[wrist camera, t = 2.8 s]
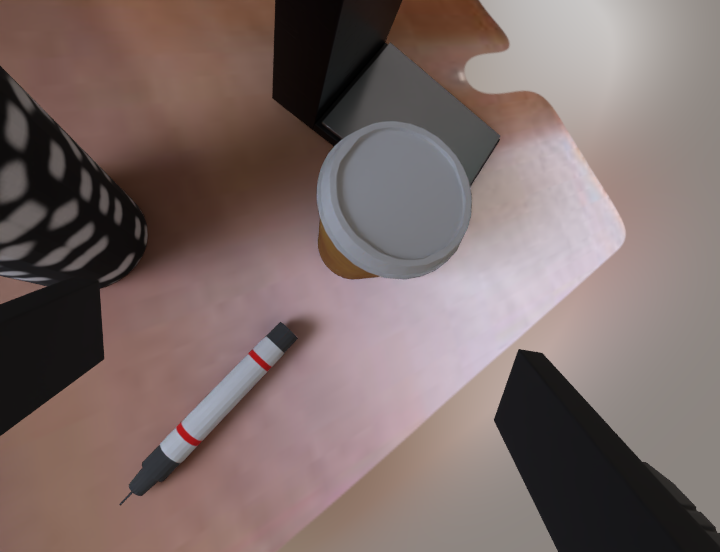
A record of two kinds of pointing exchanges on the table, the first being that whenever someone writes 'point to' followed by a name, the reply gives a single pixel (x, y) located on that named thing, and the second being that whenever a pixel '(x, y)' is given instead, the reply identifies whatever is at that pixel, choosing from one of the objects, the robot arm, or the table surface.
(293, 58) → the tower
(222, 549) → the table surface
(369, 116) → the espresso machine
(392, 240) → the disposable coffee cup
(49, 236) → the spotted tube
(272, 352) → the marker
